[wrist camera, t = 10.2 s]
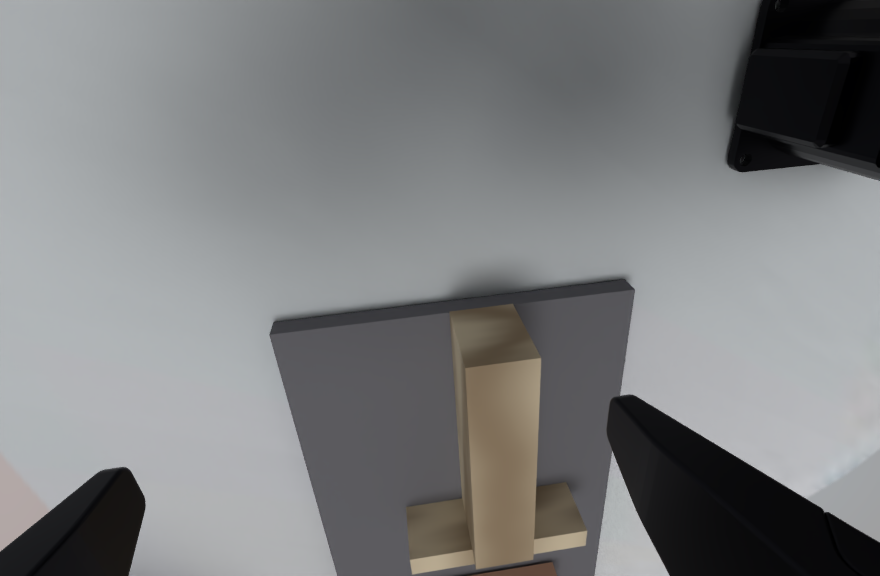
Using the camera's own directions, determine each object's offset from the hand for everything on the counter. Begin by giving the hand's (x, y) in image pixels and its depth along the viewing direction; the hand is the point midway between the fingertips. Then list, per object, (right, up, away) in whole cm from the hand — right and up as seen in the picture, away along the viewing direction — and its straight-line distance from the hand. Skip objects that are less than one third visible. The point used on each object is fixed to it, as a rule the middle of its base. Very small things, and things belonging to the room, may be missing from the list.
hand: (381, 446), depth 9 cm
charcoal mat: (+3, -9, +19) cm, 21 cm away
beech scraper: (+3, -3, +15) cm, 15 cm away
